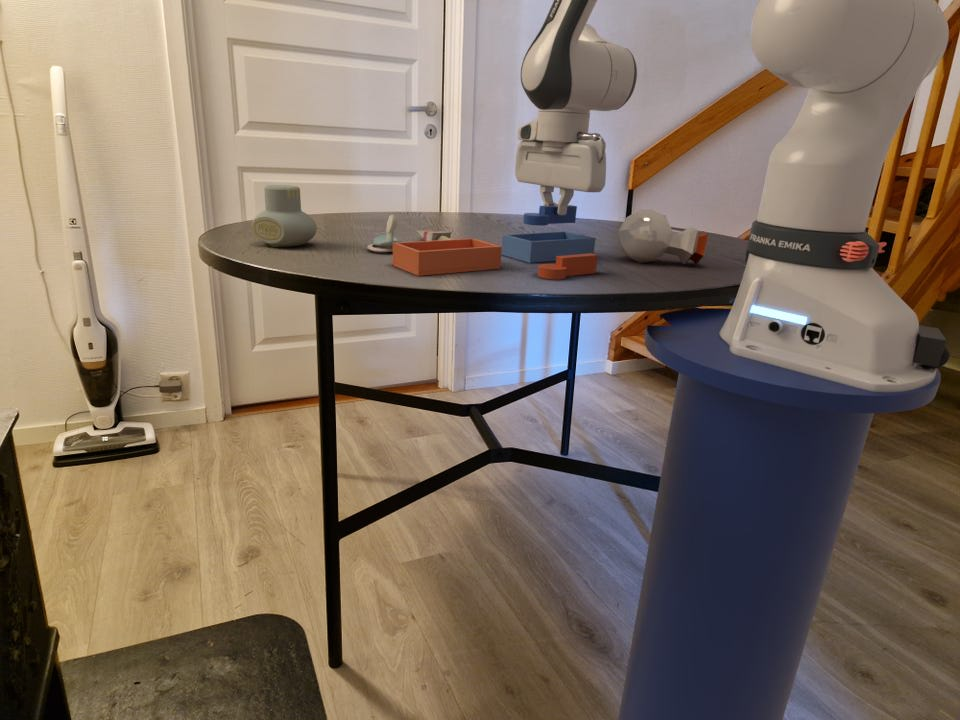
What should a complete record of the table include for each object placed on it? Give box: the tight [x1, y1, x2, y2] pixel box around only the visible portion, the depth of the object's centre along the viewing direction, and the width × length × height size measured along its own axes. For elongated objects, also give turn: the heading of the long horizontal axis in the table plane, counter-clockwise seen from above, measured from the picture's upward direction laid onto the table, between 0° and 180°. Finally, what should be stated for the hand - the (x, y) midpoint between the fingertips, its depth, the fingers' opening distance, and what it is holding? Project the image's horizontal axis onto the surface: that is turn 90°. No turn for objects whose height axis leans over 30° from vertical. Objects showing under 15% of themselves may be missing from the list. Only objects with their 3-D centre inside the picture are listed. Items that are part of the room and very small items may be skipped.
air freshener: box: [250, 184, 318, 248], centre depth 108 cm, size 11×8×10 cm
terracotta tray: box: [392, 238, 502, 277], centre depth 98 cm, size 8×15×4 cm, turn 125°
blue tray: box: [501, 230, 596, 264], centre depth 112 cm, size 8×15×4 cm, turn 125°
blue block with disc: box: [522, 204, 578, 227], centre depth 110 cm, size 11×4×3 cm, turn 125°
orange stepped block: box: [537, 253, 599, 281], centre depth 97 cm, size 11×4×3 cm, turn 125°
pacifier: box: [367, 214, 403, 253], centre depth 108 cm, size 7×6×6 cm
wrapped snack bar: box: [415, 229, 452, 241], centre depth 115 cm, size 4×3×20 cm
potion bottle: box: [618, 208, 709, 266], centre depth 111 cm, size 9×10×15 cm
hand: (554, 213), depth 111 cm, fingers closed on blue block with disc
